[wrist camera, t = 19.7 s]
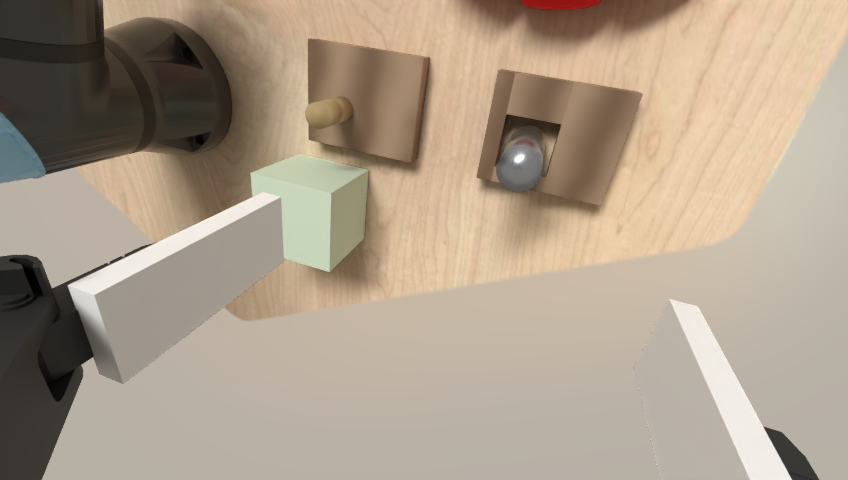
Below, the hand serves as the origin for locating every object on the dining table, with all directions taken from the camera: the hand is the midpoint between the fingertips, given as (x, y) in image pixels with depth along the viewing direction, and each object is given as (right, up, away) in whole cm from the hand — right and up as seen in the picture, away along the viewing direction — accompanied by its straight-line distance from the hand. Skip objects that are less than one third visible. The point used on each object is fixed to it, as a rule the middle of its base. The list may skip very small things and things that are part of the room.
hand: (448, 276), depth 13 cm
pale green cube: (-12, +6, +34) cm, 37 cm away
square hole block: (+11, +11, +24) cm, 29 cm away
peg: (+9, +11, +25) cm, 29 cm away
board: (-7, +16, +28) cm, 33 cm away
